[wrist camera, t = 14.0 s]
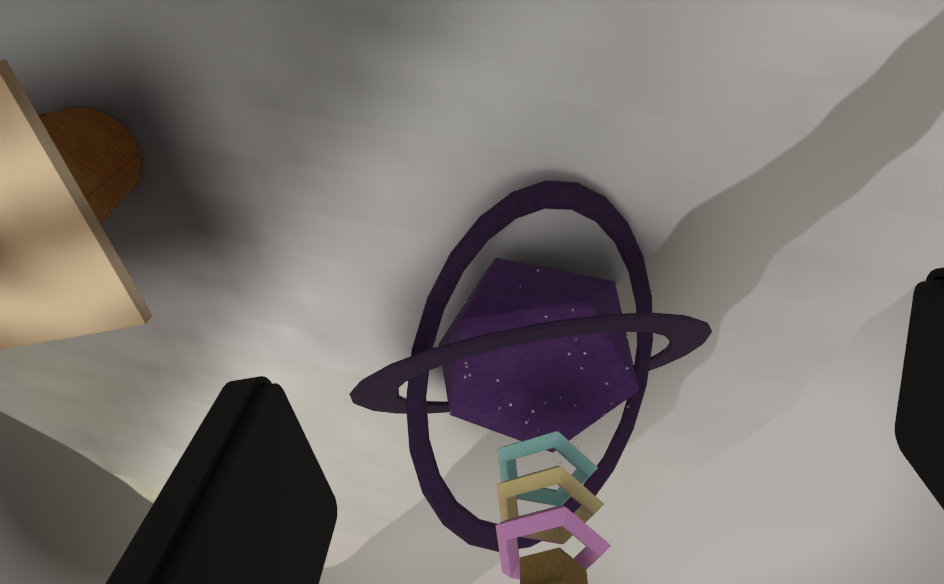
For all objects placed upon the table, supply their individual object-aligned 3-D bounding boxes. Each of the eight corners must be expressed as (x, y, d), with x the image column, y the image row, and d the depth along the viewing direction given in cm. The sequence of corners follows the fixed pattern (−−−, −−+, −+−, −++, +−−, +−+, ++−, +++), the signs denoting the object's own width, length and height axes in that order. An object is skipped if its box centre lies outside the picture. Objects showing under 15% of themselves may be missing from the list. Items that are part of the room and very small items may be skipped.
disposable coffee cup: (18, 182, 45) (-128, 263, 34) (30, 55, 40) (-134, 104, 30) (152, 237, 46) (52, 329, 36) (179, 120, 42) (72, 188, 32)
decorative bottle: (458, 442, 56) (427, 774, 34) (335, 244, 46) (185, 532, 25) (714, 363, 50) (870, 702, 29) (634, 120, 41) (778, 354, 19)
